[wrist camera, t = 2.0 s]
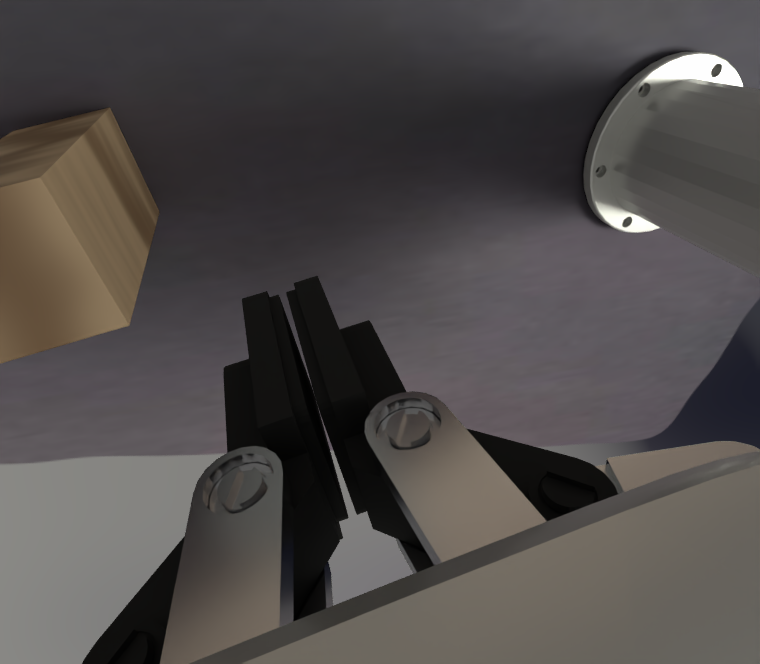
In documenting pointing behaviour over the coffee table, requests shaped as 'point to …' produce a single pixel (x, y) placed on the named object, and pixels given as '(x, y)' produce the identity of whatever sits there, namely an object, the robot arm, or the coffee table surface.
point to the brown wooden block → (69, 233)
